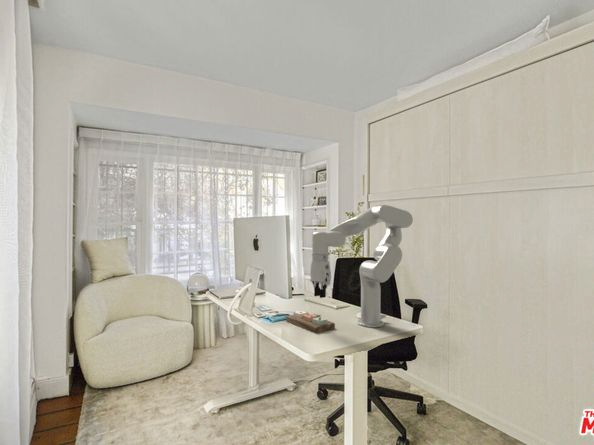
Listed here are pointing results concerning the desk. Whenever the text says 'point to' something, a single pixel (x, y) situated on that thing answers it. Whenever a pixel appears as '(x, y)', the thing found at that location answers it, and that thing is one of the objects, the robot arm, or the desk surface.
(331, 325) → the button board
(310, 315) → the button two dots
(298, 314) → the button one dot
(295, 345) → the desk surface
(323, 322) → the button three dots
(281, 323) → the desk surface
